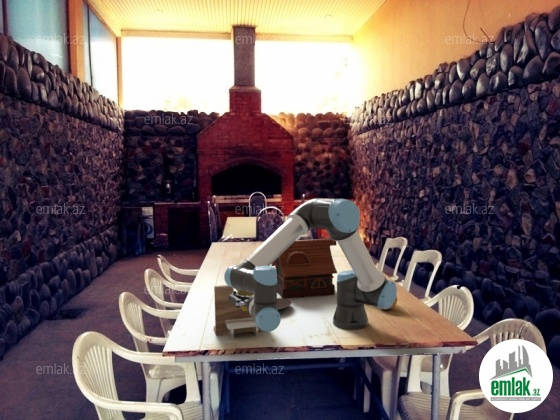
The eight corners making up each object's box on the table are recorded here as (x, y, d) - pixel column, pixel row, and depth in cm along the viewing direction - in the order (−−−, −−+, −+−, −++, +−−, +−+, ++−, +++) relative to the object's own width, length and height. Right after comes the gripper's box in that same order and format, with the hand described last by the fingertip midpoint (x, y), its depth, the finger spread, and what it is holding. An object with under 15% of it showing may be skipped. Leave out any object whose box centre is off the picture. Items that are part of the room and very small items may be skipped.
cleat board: (272, 335, 181) (272, 287, 179) (218, 341, 175) (217, 291, 173) (264, 323, 195) (263, 278, 193) (213, 328, 189) (212, 282, 188)
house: (280, 302, 228) (280, 245, 225) (268, 288, 255) (267, 237, 253) (345, 296, 236) (345, 242, 234) (326, 283, 264) (326, 235, 261)
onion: (382, 313, 208) (382, 292, 207) (372, 307, 217) (372, 287, 216) (401, 311, 210) (401, 290, 209) (390, 305, 220) (390, 285, 219)
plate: (260, 298, 236) (260, 291, 236) (303, 307, 218) (303, 300, 218) (221, 311, 214) (221, 303, 214) (265, 323, 197) (265, 315, 196)
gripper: (227, 321, 150) (218, 302, 171) (289, 315, 155) (273, 297, 177) (227, 299, 149) (218, 283, 171) (289, 293, 155) (273, 279, 176)
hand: (246, 290), depth 174 cm, fingers closed on flower pot, 9 cm apart
